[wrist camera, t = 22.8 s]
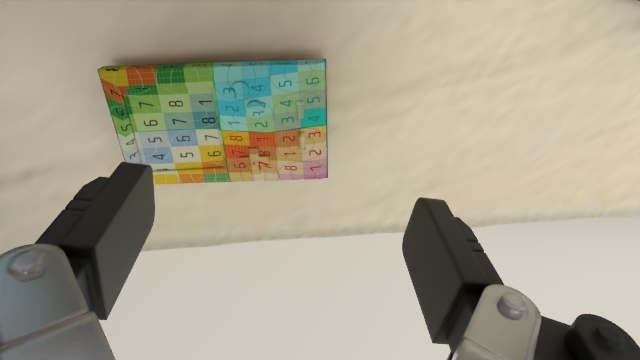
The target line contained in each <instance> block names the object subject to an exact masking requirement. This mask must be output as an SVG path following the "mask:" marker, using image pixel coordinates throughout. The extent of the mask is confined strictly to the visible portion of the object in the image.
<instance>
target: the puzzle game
mask: <svg viewBox="0 0 640 360" xmlns="http://www.w3.org/2000/svg"><path fill="white" fill-rule="evenodd" d="M98 73H99V76H100V80H101V83H102V86H103V90H104V93H105V96H106V100H107V103H108V106H109V110H110V113H111V116H112V120H113V123H114V126H115V130H116V133H117V136H118V140H119V143H120V146H121V150H122V153H123V156H124V160H125V162H129V163H138V164H146V165H151V167H152V170H153V184H177V183H203V182H234V181H266V180H297V179H322V178H328V159H327V98H326V60H325V59H306V60H276V61H246V62H215V63H185V64H155V65H124V66H105V67H101V68H99V69H98Z"/></svg>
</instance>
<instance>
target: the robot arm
mask: <svg viewBox="0 0 640 360" xmlns="http://www.w3.org/2000/svg"><path fill="white" fill-rule="evenodd" d="M154 216H155V202H154V184H153V170H152V167H151V165H146V164H138V163H129V162H122V163H120V164H119V166H118V167H117V168H116V170H115V171H114V172H113V174H112V175H111V176H110V177H109V178H108V177H98V178H97V179H95V180H93V181H91V182H89V183H88V184H86V185H84V186H83V187H82V188H81V189H80V191H79V192H78V193H77V194H76V195H75V196H74V199H73V200H71V201H70V202H69V203H68V205H67V206H66V207H65V210H63V211H62V212H61V213H60V214H59V215H58V216H57V218H56V219H55V220H54V221H53V222H52V223H51V225H50V226H49V227H48V228H47V229H46V231H45V232H44V233H43V234H42V235H41V236H40V238H39V239H38V240H37V241H36V242H35V243H34V244H30V245H25V246H20V247H17V248H14V249H12V250H9V251H7V252H5V253H3V254H2V255H0V360H115V357H114V355H113V353H112V350H111V348H110V346H109V344H108V341H107V339H106V336H105V334H104V332H103V330H102V327H101V325H100V323H99V320H107V318H108V316H109V314H110V312H111V310H112V308H113V306H114V304H115V302H116V300H117V298H118V296H119V294H120V292H121V289H122V287H123V285H124V283H125V281H126V279H127V277H128V275H129V273H130V271H131V269H132V267H133V265H134V263H135V261H136V259H137V257H138V255H139V253H140V251H141V249H142V247H143V245H144V243H145V241H146V239H147V237H148V235H149V233H150V231H151V228H152V225H153V222H154ZM402 250H403V256H404V259H405V262H406V265H407V268H408V271H409V274H410V277H411V280H412V283H413V286H414V289H415V292H416V295H417V298H418V301H419V304H420V307H421V310H422V313H423V315H424V318H425V322H426V325H427V327H428V331H429V334H430V337H431V339H432V342H433V343H437V344H449V347H450V350H451V352H450V354H449V355H448V357H447V359H446V360H640V348H639V346H638V345H637V344H636V342H635V341H634V340H633V339H632V338H631V337H630V336H629V335H628V334H627V333H626V332H625V331H624V330H623V329H621V328H620V327H619V326H617V325H616V324H614V323H612V322H611V321H609V320H607V319H605V318H602V317H600V316H596V315H592V314H582V315H580V316H578V317H577V318H576V320H575V321H574V322H573V324H572V325H571V326H570V325H567V324H564V323H561V322H558V321H555V320H552V319H549V318H546V317H543V316H541V315H540V312H539V310H538V308H537V307H536V306H535V304H534V303H533V302H532V301H531V300H530V299H529V298H528V297H527V296H525V295H524V294H523V293H521V292H519V291H518V290H516V289H514V288H511V287H508V286H505V285H504V284H503V282H502V280H501V278H500V277H499V275H498V274H497V272H496V270H495V268H494V267H493V265H492V263H491V262H490V260H489V258H488V257H487V255H486V253H484V250H483V248H482V246H481V245H480V243H478V240H477V238H476V236H475V235H474V233H473V231H472V230H471V228H470V227H469V226H467V225H466V224H465V223H464V222H463V221H462V220H461V219H460V218H458V217H454V216H453V214H452V213H451V211H450V209H449V207H448V205H447V204H446V202H445V201H444V200H438V199H430V198H419V199H418V200H417V201H416V203H415V206H414V209H413V212H412V214H411V217H410V220H409V223H408V225H407V228H406V231H405V234H404V237H403V244H402ZM98 319H99V320H98Z"/></svg>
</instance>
